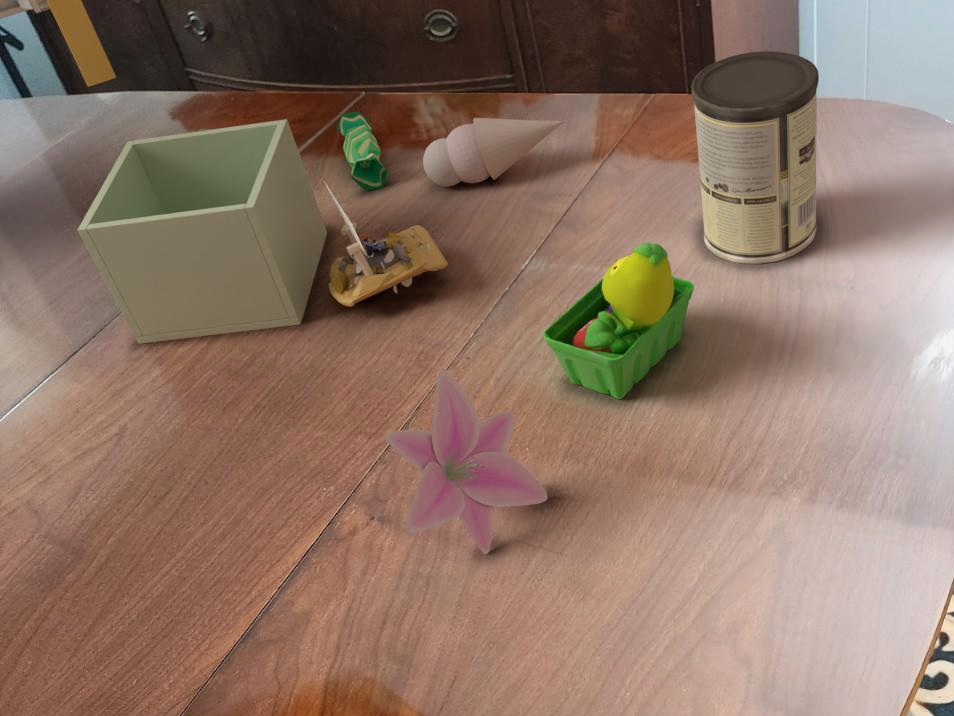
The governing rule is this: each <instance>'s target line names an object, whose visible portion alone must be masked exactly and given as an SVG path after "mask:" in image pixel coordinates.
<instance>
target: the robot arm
mask: <svg viewBox="0 0 954 716" xmlns="http://www.w3.org/2000/svg"><path fill="white" fill-rule="evenodd" d="M30 10H34V12H35V13H36V14H39V13H41V12H45V11H48V10H51V9H50V7H49V5H48V3H47V0H0V20H1V19H4V18H8V17H11V16H14V15H17V14H21V13H23V12H28V11H30Z"/></svg>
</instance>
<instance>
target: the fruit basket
mask: <svg viewBox="0 0 954 716" xmlns="http://www.w3.org/2000/svg"><path fill="white" fill-rule="evenodd" d="M668 257H669V255H668V252H667V251H666V249H665V248H664V247H663V246H661V244H658V243H657V242H656V243H655V242H654V243H651V242H644V243H641V244H640V245H638V246H637V247H636V248H634V250H633V253H632V254H629V255H626V256H623V257H622V258H620V259H618V260H617V261H616V262H614V263H613V264H612V265H610V266H609V267H608V268H607V271H606V272H605V273H604V276H603V277H602V278H601V279H600V280H599V281H598V282H597V283H596V284H595V285H594V286H593V287H591V288H590V289H589V290H588V291H587V292H586V293H585V294H584V295H582V297H580V298H579V299H578V300H577V301H576V302H575V303H573V305H572V306H570V307H569V308H568V309H567V310H566V311H565V312H564V313H563V314H561V316H560V317H558V319H556V320H555V321H554V322H552V323H551V324H550V325H549V326H548V327H547V328H546V329H545V330H544V331H543V333H542V337H543V339H544V340H545V342H546V344H547V345H548V347H549V348H550V349H552V352H553V353H554V355H555V356H556V359H557V361H558V362H559V363H560V365H561V367H562V369H563V371H564V372H565V374H566V376H567V378H568V379H569V382H570V383H571V384H573V385H576V386H577V385H579V386H582V387H584V388H585V389H587V390H591V391H593V392H597V393H599V394H601V395H608V396H609V395H611V397H613V398H614V399H617V400H622V399H623V398H625V397H626V396H627V394H628V393H630V391H632V389H633V387H634V385H636V384H638V383H639V382H640V381H641V380H643V378H644V377H646V375H647V374H648V373H649V371H650V369H651V368H652V367H654V366H656V365H657V364H658V363H659V362H660V361H661V360H662V359H663V358H664V357H665V356H666V354H667V351H669V350H671V349H673V348H674V347H675V346H676V345H677V344H678V343H679V342H680V341H681V339H682V333H683V330H684V324H685V322H686V321H685V320H686V315H687V311H688V308H689V307H688V306H689V303H690V300H691V299H692V296H693V292H694V289H695V284H694V283H693V282H691V281H689V280H687V279H682V278H679V277H676V276H673V274H672V266H671V263H670V261H669V259H668Z"/></svg>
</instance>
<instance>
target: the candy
mask: <svg viewBox="0 0 954 716" xmlns="http://www.w3.org/2000/svg"><path fill="white" fill-rule="evenodd" d="M336 130H337V132H339V134H340V135H341V136H343V138H345V139H344V142H343V145H342V150H343V152H344V155H345V159H346V162H347V164H348V166H350V167H351V168H352V169H351V179H352V180H353V181H354V182H355V183H356V184H357V185H358V186H359V187H360V188H361V189H362V190H363V191H364V192H367V191H372V190H378V189H382V188H384V187H385V184H386V181H387V178H388V175H389V171H388V169H387V168H386V167H385V165H383V164H382V162H381V160H380V157H381V155H382V151H381V149H380V146H379V143H378V141H377V137H375V136H374V134H373V132H372V123H371V122H370V121H369V120H368V119H367V118H366V117H365V116H364V115H363V114H362V113H361V112H360V111H359V110H357V111H351V112H345V113H341V114H340V115H339V120H338V123H337V126H336Z"/></svg>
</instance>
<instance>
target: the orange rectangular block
mask: <svg viewBox="0 0 954 716" xmlns="http://www.w3.org/2000/svg"><path fill="white" fill-rule="evenodd" d="M47 3H48V5H49V7H50V9H49V10H50V11H51V13H52V15H53V17H54V19H55V22H56V23H57V25H58V27H59V29H60V31H61V34H62V36H63V38H64V40H65V42H66V44H67V47H68V49H69V50H70V52H71V54H72V56H73V59H74V60H75V61H74V62H75V63H76V65H77V67H78V70H79V71H80V73H81V75H82V78H83V80H84V82H85V84H86V86H87V87H88V88H89V87H92V86H95V85H98V84H101V83H105V82H107V81H108V82H109V81H110V80H114V79H116V78H117V75H116V72H115V71H114V69H113V67H112V65H111V62H110V60H109V58H108V56H107V54H106V52H105V49H104V47H103V45H102V43H101V41H100V38H99V36H98V34H97V32H96V29H95V28H94V25H93V23H92V21H91V19H90V17H89V14H88V12H87V10H86V8H85V6H84V3H83V1H82V0H47Z"/></svg>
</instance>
